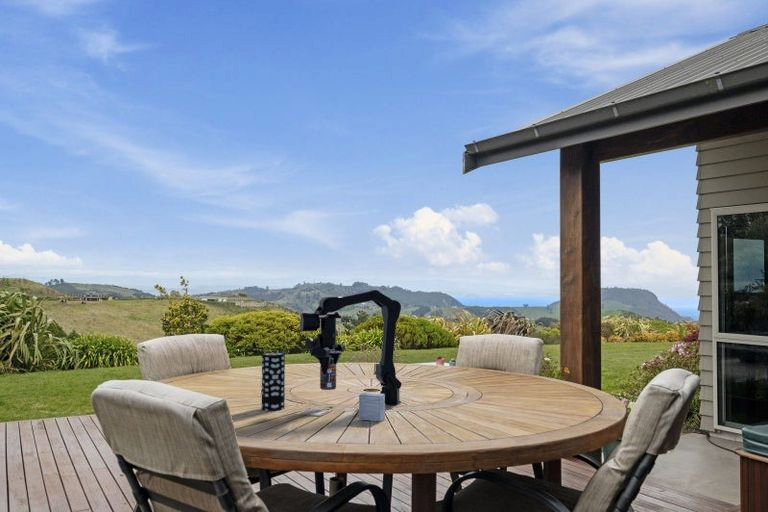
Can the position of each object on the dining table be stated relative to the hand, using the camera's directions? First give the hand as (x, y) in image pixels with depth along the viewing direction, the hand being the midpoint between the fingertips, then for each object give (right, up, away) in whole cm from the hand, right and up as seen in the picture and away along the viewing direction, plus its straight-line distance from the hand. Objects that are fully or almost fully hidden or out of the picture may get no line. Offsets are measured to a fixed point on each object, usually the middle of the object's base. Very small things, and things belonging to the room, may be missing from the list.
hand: (328, 373), depth 226 cm
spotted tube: (-20, -13, -1) cm, 24 cm away
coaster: (-4, -12, -10) cm, 16 cm away
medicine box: (+17, -12, -20) cm, 29 cm away
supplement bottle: (0, -6, 0) cm, 6 cm away
